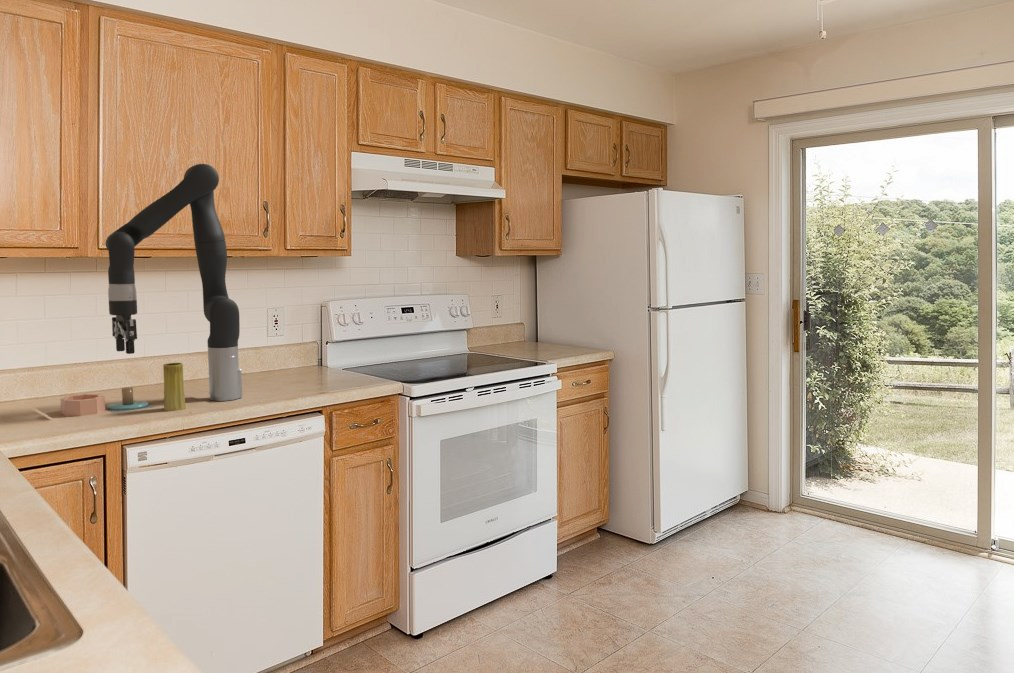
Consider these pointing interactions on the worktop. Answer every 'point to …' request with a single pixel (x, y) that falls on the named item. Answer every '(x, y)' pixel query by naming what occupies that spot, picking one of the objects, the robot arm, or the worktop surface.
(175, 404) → the vase
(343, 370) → the worktop surface
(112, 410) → the mat
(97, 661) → the worktop surface
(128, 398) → the lid
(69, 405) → the bowl
